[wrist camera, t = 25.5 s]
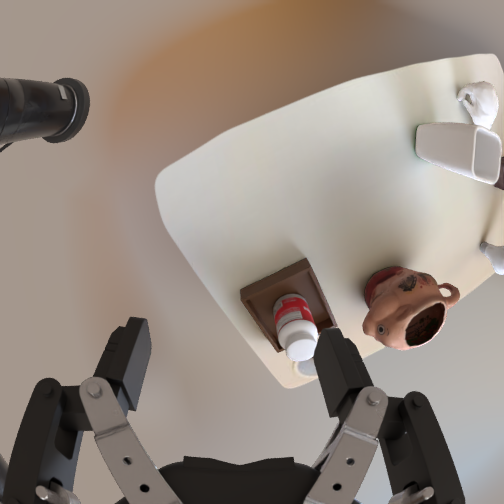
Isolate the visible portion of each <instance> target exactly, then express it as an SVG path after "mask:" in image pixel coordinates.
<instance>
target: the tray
mask: <svg viewBox="0 0 504 504" xmlns="http://www.w3.org/2000/svg"><path fill="white" fill-rule="evenodd" d="M240 294H241V301H242V303H243V304H244V306H245V307H246V309H247V310H248V311H249V313H250V314H251V316H252V317H253V319H254V320H255V322H256V323H257V324H258V326H259V327H260V329H261V330H262V332H263V333H264V334H265V336H266V337H267V339H268V340H269V342H270V343H271V344H272V346H273V347H274V349H275V350H276V351H277V353H279V352H281V351H283V350H285V349H284V348H283V347H282V346H281V345H280V343H279V340H278V335H277V329H276V324H275V319H274V314H273V307H274V304H275V303H276V301H277V300H278V299H279V298H280V297H282V296H284V295H287V294H298V295H300V296H302V297H303V298H304V299H305V300H306V302H307V304H308V307H309V309H310V312H311V315H312V317H313V320H314V323H315V325H316V328H317V332H318V335H320V334H321V331H322V329H323V328H335V327H337V323H336V321H335V319H334V316H333V314H332V312H331V310H330V307H329V305H328V303H327V300H326V298H325V296H324V294H323V292H322V289H321V287H320V285H319V283H318V280H317V278H316V276H315V274H314V272H313V270H312V267H311V265H310V264H309V262H308V260H307V258H305V259H303V260H301V261H299V262H297V263H295V264H293V265H291V266H289V267H287V268H285V269H283V270H280V271H278V272H276V273H274V274H272V275H270V276H268V277H266V278H264V279H262V280H260V281H258V282H255V283H253V284H251V285H249V286H247V287H245V288H243V289H241V290H240Z"/></svg>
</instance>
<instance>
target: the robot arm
mask: <svg viewBox="0 0 504 504" xmlns="http://www.w3.org/2000/svg"><path fill="white" fill-rule="evenodd" d="M78 104H79V102H78V96H77V93H76V91H75V90H74V88H73V87H71V86H69V85H65V84H55V83H49V82H42V81H33V80H23V79H10V78H0V145H2V144H5V145H4V146H3V147H2V148H0V152H2V151H3V150H4V149H5V148H6V147H8V146H9V145H11V144H12V143H13V142H16V141H21V140H27V139H33V138H39V137H48V136H58V135H61V134H63V133H64V132H66V131H67V130H68V129H69V128H70V127H71V125H72V124H73V122H74V120H75V118H76V115H77V112H78ZM6 143H7V144H6ZM150 355H151V338H150V333H149V327H148V322H147V319H145V318H137V317H130V318H129V320H128V322H127V325H126V327H121V326H119V327H118V328H117V329H116V330H115V331H114V332H113V333H112V334H111V336H110V338H109V340H108V343H107V345H106V347H105V350H104V352H103V354H102V357H101V359H100V361H99V363H98V366H97V368H96V370H95V373H94V375H93V377H90V378H88V379H86V380H85V381H83V382H82V384H81V385H79V386H61V385H60V383H59V382H58V381H57V380H55V379H53V378H45V379H42V380H41V381H39V382H38V383H37V385H36V386H35V388H34V391H33V393H32V396H31V398H30V401H29V403H28V406H27V408H26V411H25V414H24V416H23V419H22V422H21V425H20V428H19V431H18V434H17V437H16V441H15V444H14V447H13V451H12V454H11V458H10V462H9V465H8V464H7V463H6V461H5V460H4V458H3V457H2V455H1V454H0V504H81V502H80V501H79V499H78V498H77V496H76V495H75V494H74V493H72V491H73V484H74V477H75V471H76V466H77V460H78V455H79V450H80V446H81V441H82V436H83V432H84V431H94V433H95V436H94V438H95V441H96V444H97V446H98V448H99V450H100V452H101V454H102V456H103V458H104V460H105V462H106V464H107V466H108V468H109V470H110V472H111V474H112V476H113V477H114V479H115V481H116V483H117V484H118V486H119V488H120V489H121V491H122V493H123V494H124V496H125V497H123V498H122V499H121V500H119V501H118V502H117V503H115V504H362V503H361V502H359V501H358V500H356V499H355V496H356V494H357V492H358V490H359V488H360V486H361V484H362V482H363V480H364V477H365V475H366V473H367V470H368V468H369V466H370V464H371V461H372V459H373V457H374V454H375V452H376V449H377V446H378V440H376V438H378V439H379V442H380V446H381V449H382V453H383V457H384V461H385V464H386V468H387V472H388V476H389V480H390V485H391V489H392V493H393V497H392V498H391V499H390V501H389V503H388V504H465V497H464V494H463V490H462V487H461V484H460V481H459V477H458V474H457V471H456V468H455V466H454V462H453V460H452V457H451V454H450V451H449V449H448V446H447V444H446V441H445V438H444V436H443V433H442V431H441V428H440V426H439V423H438V421H437V419H436V416H435V414H434V412H433V410H432V407H431V405H430V403H429V401H428V399H427V397H426V396H425V395H423V394H422V393H420V392H416V391H412V392H410V393H408V394H407V395H406V396H405V397H404V398H397V397H396V398H395V397H388V396H387V395H386V393H385V392H384V391H382V390H381V389H380V388H377V387H374V385H373V383H372V380H371V378H370V376H369V374H368V371H367V369H366V367H365V365H364V363H363V362H362V361H363V360H362V358H361V356H360V355H359V351H358V349H357V347H356V345H355V344H354V343H353V342H352V341H351V340H350V339H349V338H344V337H343V335H342V332H341V330H340V329H339V328H323V329H322V331H321V334H320V336H319V339H318V342H317V345H316V348H315V350H314V364H315V367H316V370H317V374H318V377H319V381H320V384H321V387H322V391H323V395H324V398H325V402H326V406H327V409H328V413H329V416H330V418H331V417H338V418H339V423H338V424H337V426H336V428H335V430H334V432H333V433H332V435H331V437H330V439H329V441H328V443H327V444H326V446H325V448H324V450H323V451H322V453H321V454H320V456H319V457H318V459H317V460H316V461H315V463H314V464H313V466H312V467H309V466H307V465H304V464H300V463H295V462H294V458H293V457H286V458H271V459H264V460H261V461H257V462H252V463H248V464H244V465H236V464H231V463H227V462H223V461H219V460H215V459H212V458H200V457H188V456H184V460H183V462H176V463H172V464H169V465H166V466H164V467H162V468H160V469H157V467H156V466H155V464H154V463H153V461H152V460H151V459H150V457H149V455H148V454H147V452H146V451H145V449H144V448H143V446H142V444H141V443H140V441H139V440H138V438H137V436H136V434H135V432H134V431H133V429H132V427H131V425H130V424H129V422H128V420H127V418H126V417H127V413H128V410H132V411H136V409H137V404H138V400H139V396H140V392H141V388H142V384H143V380H144V377H145V373H146V369H147V366H148V362H149V358H150Z"/></svg>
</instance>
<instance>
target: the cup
mask: <svg viewBox="0 0 504 504" xmlns="http://www.w3.org/2000/svg"><path fill="white" fill-rule="evenodd" d="M415 150H416V154H417V156H418V157H419V158H421V159H424V160H426V161H428V162H430V163H432V164H435V165H437V166H439V167H442V168H445V169H447V170H450V171H453V172H456V173H458V174H461V175H464V176H467V177H470V178H473V179H476V180H479V181H482V182H486V183H489V184H495V183H496V182H497V180H498V178H499V173H500V163H501V152H502V143H501V139H500V137H499V135H498V134H496V133H495V132H493V131H491V130H489V129H487V128H485V127H483V126H480V125H473V124H464V123H429V124H423V125H420V126H418V128H417V133H416V148H415Z"/></svg>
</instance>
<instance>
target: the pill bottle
mask: <svg viewBox="0 0 504 504" xmlns="http://www.w3.org/2000/svg"><path fill="white" fill-rule="evenodd" d="M273 314H274V319H275V324H276V329H277V335H278V340H279V343H280V345H281V346H282V347H283V348H284V349H285V351H286V355H287V357H288V358H289V359H291V360H293V361H305V360H308V359H310V358H311V357H313V356H314V350H315V348H316V345H317V342H316V340H317V336H318V332H317V328H316V325H315V323H314V320H313V317H312V315H311V312H310V309H309V307H308V304H307V302H306V300H305V299H304V298H303V297H302V296H300V295H298V294H287V295H284V296H282V297H280V298H279V299H278V300H277V301H276V303H275V304H274V307H273Z"/></svg>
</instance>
